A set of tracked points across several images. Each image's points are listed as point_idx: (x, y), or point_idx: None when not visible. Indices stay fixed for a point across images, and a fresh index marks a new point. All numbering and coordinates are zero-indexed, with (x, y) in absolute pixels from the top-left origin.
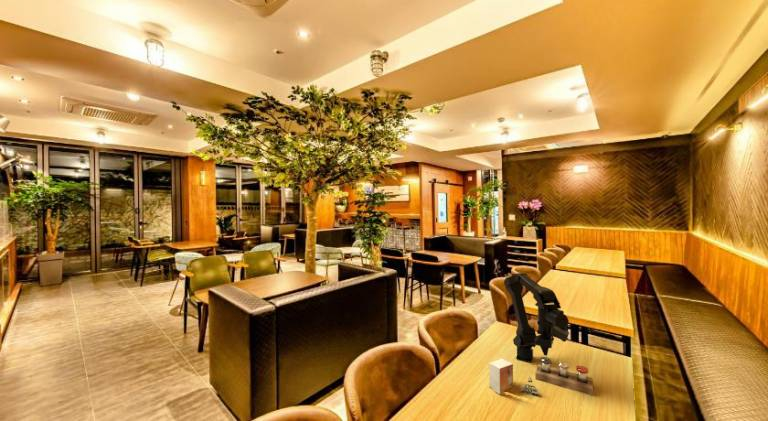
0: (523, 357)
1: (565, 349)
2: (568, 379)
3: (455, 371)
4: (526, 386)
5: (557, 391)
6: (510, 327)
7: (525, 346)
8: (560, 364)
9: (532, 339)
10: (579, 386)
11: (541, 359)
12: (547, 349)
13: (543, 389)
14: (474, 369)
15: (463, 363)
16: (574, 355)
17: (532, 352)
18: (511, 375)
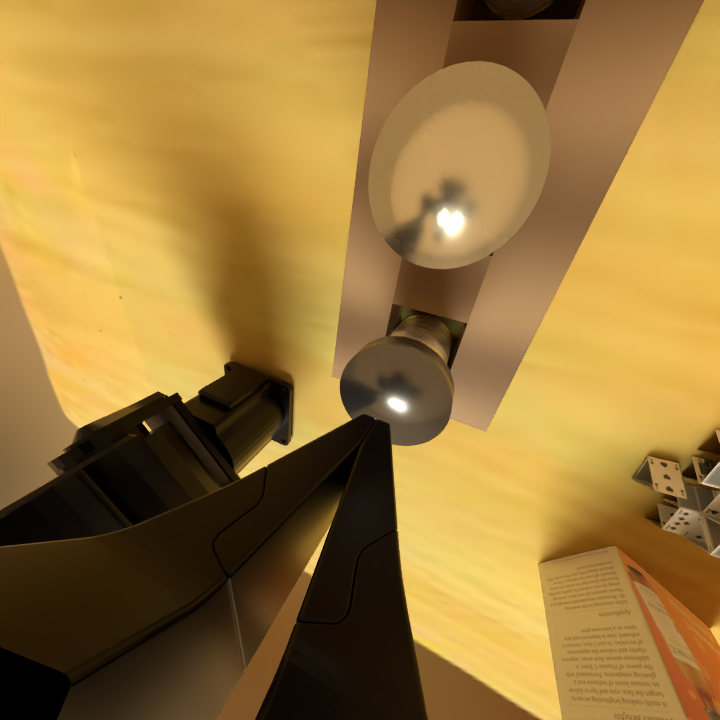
0: (277, 424)
1: (38, 156)
2: (551, 143)
3: (505, 680)
4: (703, 528)
5: (673, 279)
6: (62, 391)
7: (218, 460)
8: (504, 236)
9: (143, 487)
10: None
11: (417, 443)
12: (392, 534)
13: (643, 385)
14: (463, 621)
15: (424, 631)
16: (56, 92)
17: (232, 399)
18: (672, 652)
